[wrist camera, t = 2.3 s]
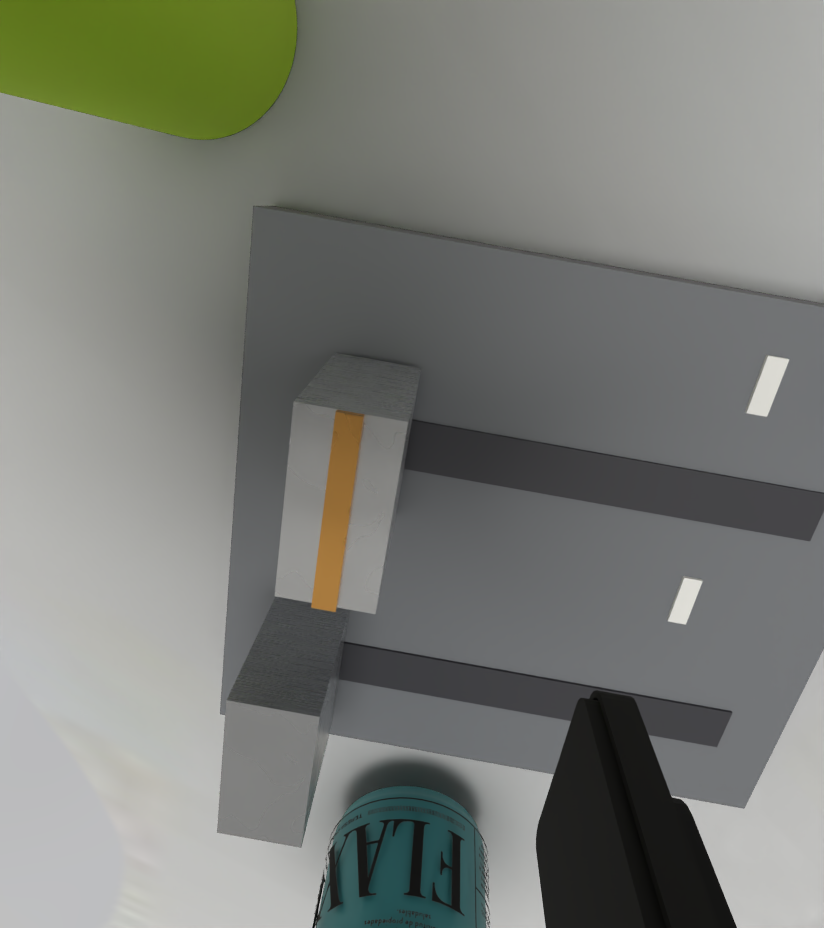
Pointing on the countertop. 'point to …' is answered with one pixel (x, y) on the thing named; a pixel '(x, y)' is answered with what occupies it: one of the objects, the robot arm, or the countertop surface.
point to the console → (552, 495)
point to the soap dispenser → (151, 59)
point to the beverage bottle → (404, 864)
